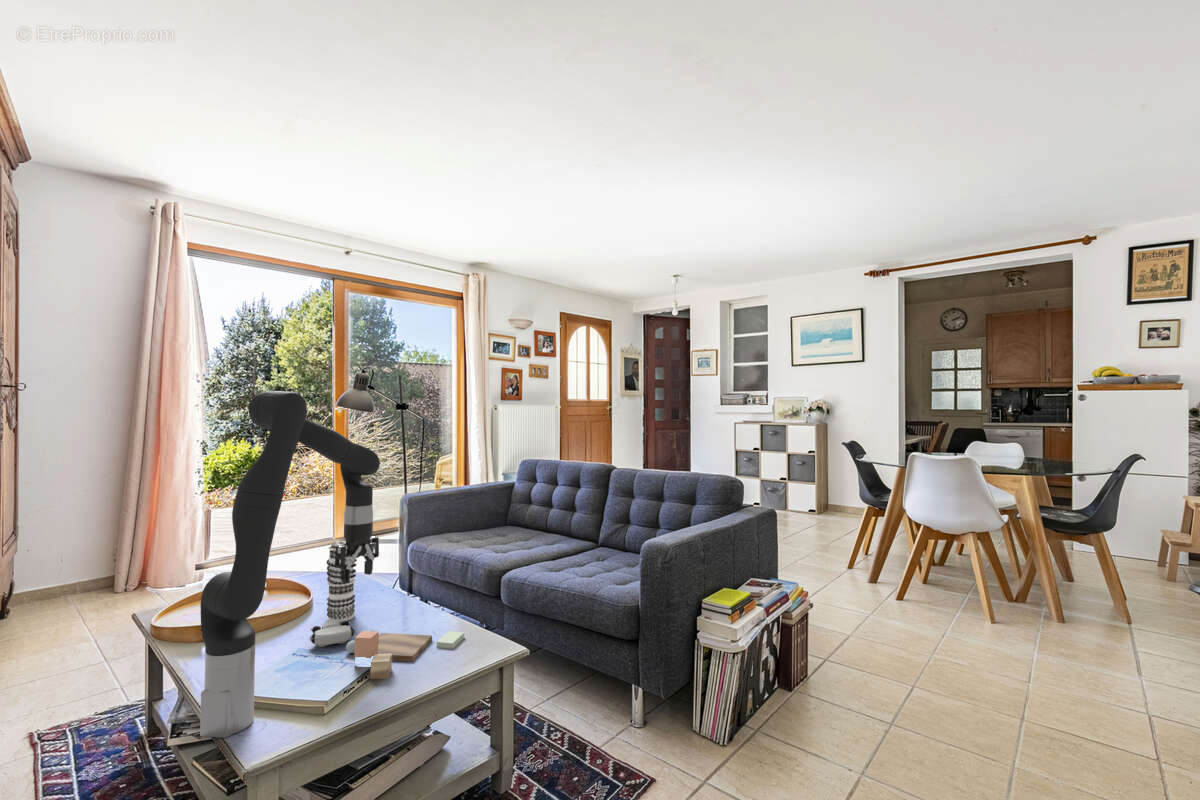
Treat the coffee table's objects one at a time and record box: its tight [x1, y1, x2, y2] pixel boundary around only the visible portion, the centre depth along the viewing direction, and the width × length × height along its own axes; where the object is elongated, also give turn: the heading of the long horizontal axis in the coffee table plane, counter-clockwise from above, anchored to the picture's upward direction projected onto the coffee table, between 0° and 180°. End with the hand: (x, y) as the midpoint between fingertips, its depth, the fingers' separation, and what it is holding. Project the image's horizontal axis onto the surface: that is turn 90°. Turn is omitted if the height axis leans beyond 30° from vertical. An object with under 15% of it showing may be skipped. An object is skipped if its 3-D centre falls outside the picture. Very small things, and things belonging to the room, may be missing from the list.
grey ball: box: [345, 639, 355, 654], centre depth 158 cm, size 4×4×4 cm
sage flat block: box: [436, 630, 465, 650], centre depth 167 cm, size 8×5×2 cm, turn 169°
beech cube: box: [369, 654, 393, 680], centre depth 146 cm, size 4×4×4 cm
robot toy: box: [309, 620, 357, 648], centre depth 167 cm, size 12×4×15 cm
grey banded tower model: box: [326, 540, 358, 623], centre depth 185 cm, size 9×9×25 cm
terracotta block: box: [353, 630, 380, 658], centre depth 152 cm, size 4×4×8 cm
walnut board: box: [378, 632, 433, 662], centre depth 161 cm, size 14×16×2 cm
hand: (357, 578), depth 157 cm, fingers open, 8 cm apart
